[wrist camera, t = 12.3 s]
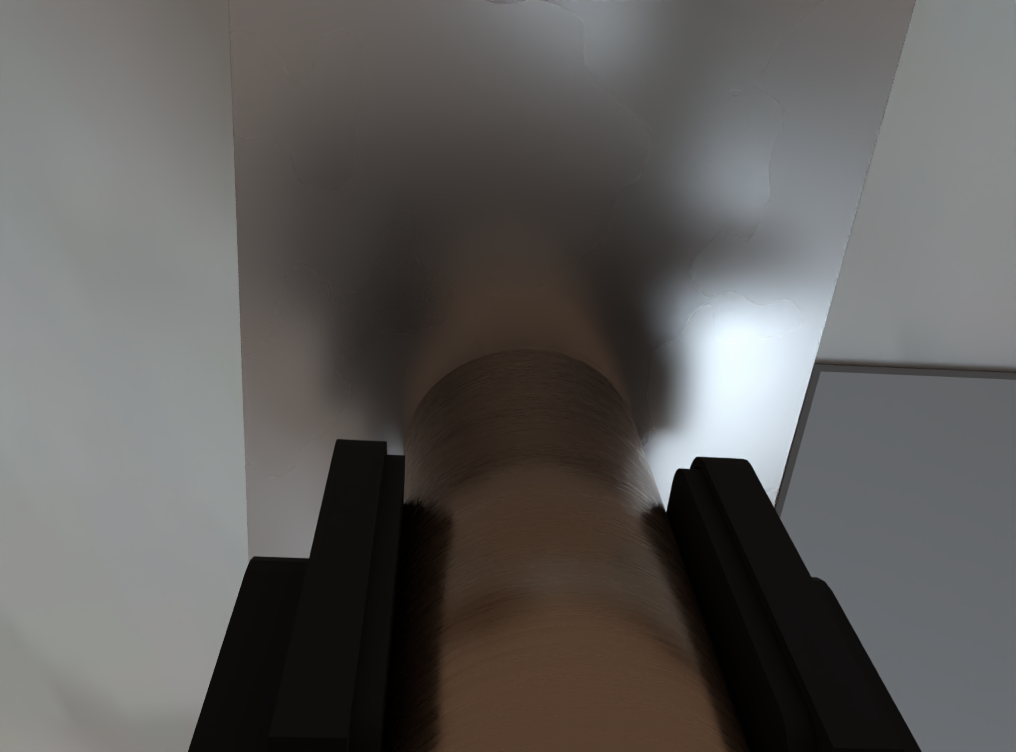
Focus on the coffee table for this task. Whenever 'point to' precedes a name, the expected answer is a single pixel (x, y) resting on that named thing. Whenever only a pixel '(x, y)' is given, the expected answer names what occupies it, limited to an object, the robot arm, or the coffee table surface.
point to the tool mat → (917, 537)
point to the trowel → (542, 319)
